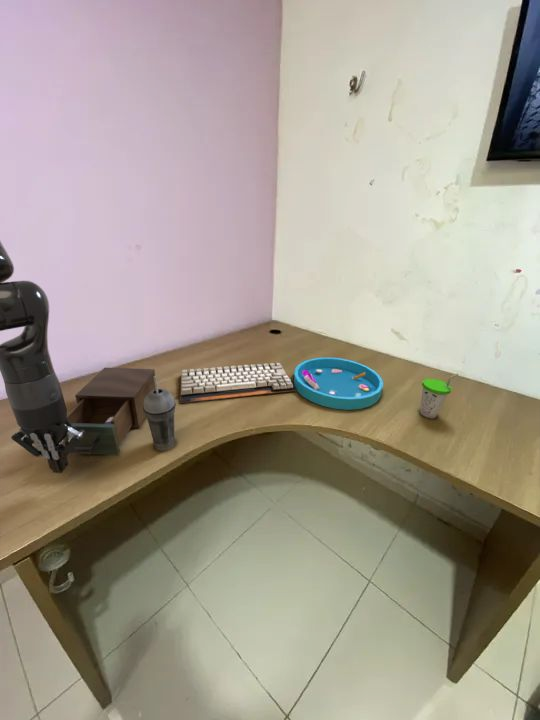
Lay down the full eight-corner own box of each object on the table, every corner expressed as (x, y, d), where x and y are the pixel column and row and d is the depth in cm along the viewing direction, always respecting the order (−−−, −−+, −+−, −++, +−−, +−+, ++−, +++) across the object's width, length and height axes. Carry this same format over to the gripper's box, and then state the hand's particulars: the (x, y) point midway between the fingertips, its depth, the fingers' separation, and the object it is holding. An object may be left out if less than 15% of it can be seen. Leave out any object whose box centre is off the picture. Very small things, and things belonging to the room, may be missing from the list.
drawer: (109, 468, 68) (102, 440, 65) (46, 466, 68) (37, 438, 65) (141, 417, 85) (137, 393, 82) (91, 416, 85) (85, 391, 82)
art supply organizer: (283, 369, 118) (284, 355, 116) (354, 364, 125) (357, 350, 123) (311, 414, 92) (313, 397, 89) (399, 404, 99) (403, 388, 96)
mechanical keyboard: (180, 404, 94) (179, 394, 92) (180, 375, 111) (179, 367, 109) (297, 392, 103) (298, 383, 102) (280, 367, 120) (281, 359, 119)
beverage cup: (180, 434, 81) (174, 365, 73) (178, 453, 75) (170, 380, 66) (151, 436, 80) (141, 367, 72) (146, 455, 74) (134, 382, 65)
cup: (409, 412, 95) (421, 368, 89) (422, 404, 100) (434, 362, 93) (434, 425, 90) (449, 379, 83) (446, 416, 94) (461, 372, 88)
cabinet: (139, 428, 83) (133, 397, 79) (83, 426, 82) (74, 395, 78) (158, 396, 97) (154, 369, 93) (110, 395, 97) (104, 367, 92)
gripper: (85, 387, 58) (102, 457, 66) (14, 384, 58) (39, 455, 66) (61, 409, 52) (83, 485, 59) (-19, 406, 51) (13, 483, 59)
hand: (60, 469), depth 62 cm, fingers closed
